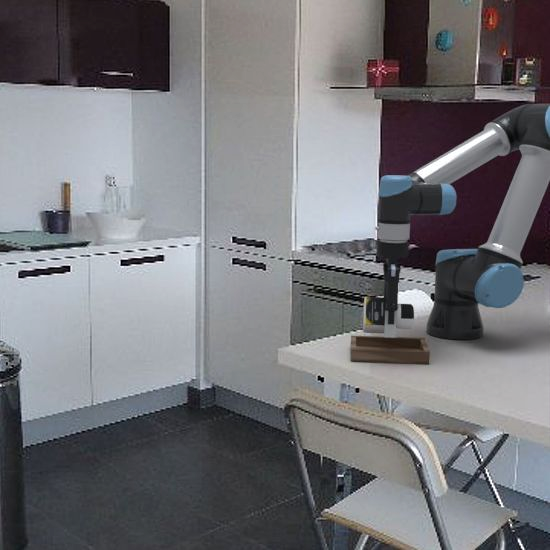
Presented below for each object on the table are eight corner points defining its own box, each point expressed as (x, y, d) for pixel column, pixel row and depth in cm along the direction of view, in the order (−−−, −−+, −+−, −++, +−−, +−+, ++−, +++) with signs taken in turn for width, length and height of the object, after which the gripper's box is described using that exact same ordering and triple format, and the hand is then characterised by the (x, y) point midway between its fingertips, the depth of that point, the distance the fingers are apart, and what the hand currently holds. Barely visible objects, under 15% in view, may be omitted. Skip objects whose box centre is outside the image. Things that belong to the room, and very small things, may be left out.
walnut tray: (350, 347, 214) (351, 335, 213) (424, 349, 212) (424, 337, 212) (351, 361, 201) (351, 349, 200) (429, 364, 199) (429, 352, 199)
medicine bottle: (364, 296, 203) (414, 297, 202) (363, 305, 210) (412, 307, 209) (363, 324, 201) (414, 326, 200) (362, 333, 207) (412, 334, 206)
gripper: (375, 234, 213) (371, 321, 217) (378, 246, 191) (374, 342, 195) (405, 235, 212) (401, 322, 216) (412, 247, 190) (407, 344, 194)
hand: (388, 331), depth 205 cm, fingers closed on medicine bottle, 9 cm apart
